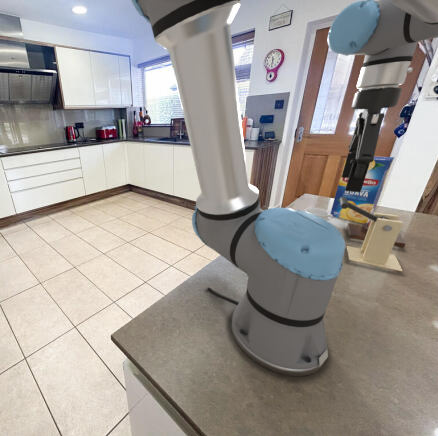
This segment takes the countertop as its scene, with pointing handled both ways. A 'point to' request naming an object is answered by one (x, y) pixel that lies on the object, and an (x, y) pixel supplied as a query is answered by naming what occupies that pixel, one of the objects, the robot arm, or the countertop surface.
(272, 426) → the countertop surface
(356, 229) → the control block
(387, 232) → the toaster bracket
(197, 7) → the robot arm
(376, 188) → the beverage box
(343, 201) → the lever
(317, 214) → the teacup
